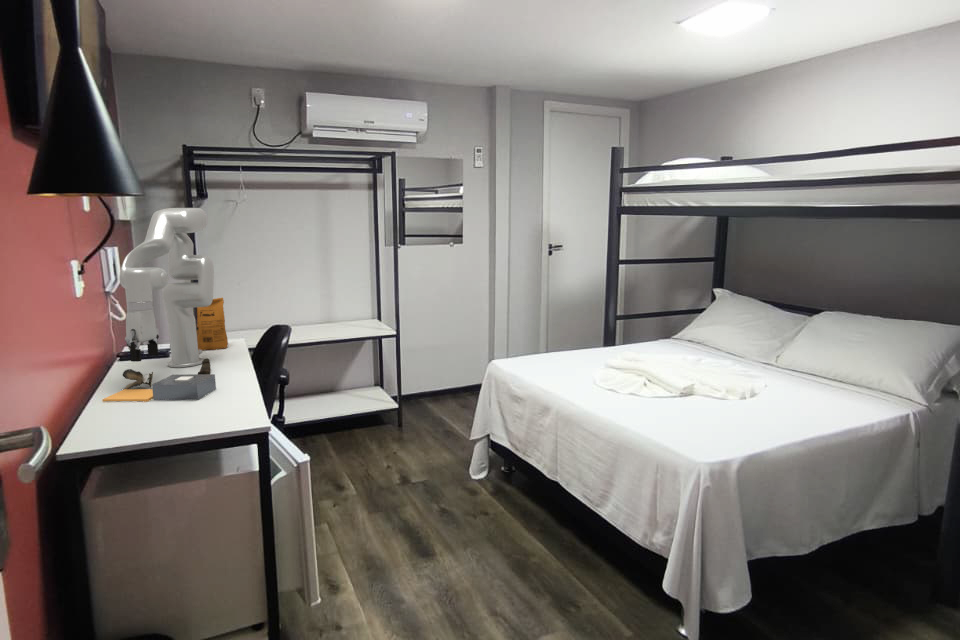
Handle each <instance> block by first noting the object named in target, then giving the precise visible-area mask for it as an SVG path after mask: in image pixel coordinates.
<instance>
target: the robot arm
mask: <svg viewBox="0 0 960 640" xmlns="http://www.w3.org/2000/svg"><path fill="white" fill-rule="evenodd" d="M148 225H149V226H148V228H147V230H146V231H147V233H146V235H145V237H144V238H145V239H144V241H143V242H142V243H140V244H138V245H137V246H136V247H134V248H133V249H132V250H130V252H128V254H127V255H126V256H125V257H124V260H123V261H122V264H121V268H120V272H119V279H118V280H119V284H120V286H121V287H122V288H123V289H125V291H124V292H125V301H126V318H125V333H126V334H125V335H126V336H125V337H124V340H125V342H126V346H127V348H128V350H129V355H130V362H132V363H133V362H142V351H141V348H140V346H141V343H144V342H147V355H148V356H150V357H151V356H159V345H158V343H159V338H160V336H159V333H160V329H159V328H157V322H156V318H155V317H156V316H155V312H154V310H155V309H154V301H153V299H154V298H153V291H154V290H162V291H161V292H162V293H161V297H162V300H163V301H162V302H163V305H164V307H165V311H166V318H167V326H168V327H167V328H168V336H169V347H170V355H171V360H169V361H168V362H166V363H167V366H168V367H169V368H187V367H194V366H198V365H202V361H203V360H204V359H205V358H202V357H200V355H201V354H202V353H203V351H202V350H201V349H199V350H198V342H197V331H196V328H197V323H196V322H197V319H196V317H195V315H194V314H193V312H192V311H191V310H190V309H191V308H192V309H193V308H197V307H208V306H210V305H211V303H212V301H213V299H214V284H215V282H214V280H215V275H214V274H215V268H214V267H215V266H214V262H213V260H212V258H211V257H210V256H208V255H205V254H194V243H193V241H192V239H191V238H190V237H189V235H188V234H193V233H198V232H201V231H204V230H205V229H206V227H207V225H208V215H207V213H206V212H205V210H204V209H202V208H199V207H168V208H163V209H158V210H157V211H154V212H153V214H152V216H151V219H150V222H149V224H148ZM167 254H168V258H167V259H168V262H167V271H166V270H165V269H163V268H161V267H149V266H148V267H145V266H143V267H141V266H142V265H144V264H145V263H147V262H150V261H152V260H154V259H157V258H159V257H162V256H165V255H167ZM169 278H170V279H173V280H176V281H197V280H198V282H173V283H169Z"/></svg>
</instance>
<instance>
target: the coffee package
mask: <svg viewBox="0 0 960 640" xmlns="http://www.w3.org/2000/svg"><path fill="white" fill-rule="evenodd" d="M224 301H225V300H224V298H223V297H218V298H213V301H212V303H211V305H210V306H208V307H196V317H197V318H196V322H197V323H196V331H197V342H198V350H199V349H201V350H202V352H204V351H208V350H209V351H210V350H212V351H216V349H217V350H223V349H226V348H228V345H229V342H228V340H229V339H228V336H227V332H226V331H227V330H226V321H225V320H226V319H225V318H226V317H225V310H224V303H225V302H224Z"/></svg>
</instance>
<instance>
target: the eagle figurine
mask: <svg viewBox="0 0 960 640" xmlns="http://www.w3.org/2000/svg"><path fill="white" fill-rule="evenodd" d="M153 375H154V371H151V372H150V373H146V374H145V375H144V374H143V373H142V372H141V371H136V370H133V368H128V369H126V370H124V371H123V372H122V377H123V378H124V379H127V380H131V381H133V382H129V383H128V384H127V385H126V386H125V387H124V388H122V389H123V390H124V389H134V388H137V387H139V386H140V387H141V385H142V384H143V385H148V387H149V388H152V383H153V381H152V380H153ZM147 381H148V382H147Z"/></svg>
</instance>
